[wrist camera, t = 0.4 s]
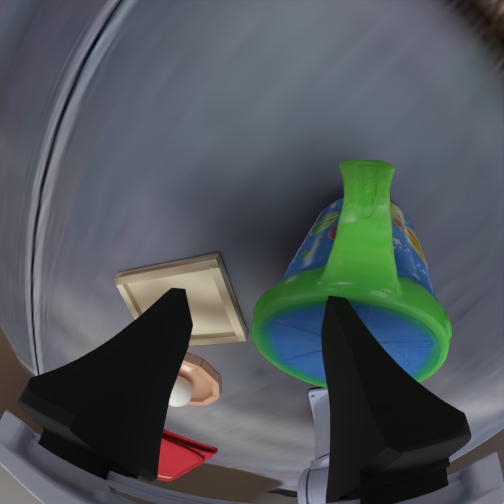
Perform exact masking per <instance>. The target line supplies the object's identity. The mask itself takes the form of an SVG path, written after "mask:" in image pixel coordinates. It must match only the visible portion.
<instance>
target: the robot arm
mask: <svg viewBox="0 0 504 504" xmlns="http://www.w3.org/2000/svg"><path fill="white" fill-rule="evenodd" d="M192 329H193V322H192V317H191V313H190V308H189V304H188V299H187V294H186V289H183V288H170V289H169V290H168V291H167V292H166V293H165V294H164V295H162V296H161V297H160V298H159V299H158V300H157V301H156V302H155V303H154V304H153V305H151V306H150V307H149V308H148V309H147V310H146V311H145V312H144V313H142V314H141V315H140V316H139V317H138V318H137V319H136V320H134V321H133V322H132V323H131V324H129V325H128V326H127V327H126V328H124V329H123V330H122V331H121V332H120V333H118V334H117V335H116V336H114V337H113V338H111V339H110V340H109V341H107V342H106V343H104V344H103V345H101V346H100V347H98V348H96V349H95V350H93V351H91V352H89V353H88V354H86V355H84V356H82V357H81V358H79V359H77V360H75V361H73V362H71V363H69V364H67V365H64V366H62V367H60V368H57V369H55V370H52V371H50V372H47V373H44V374H41V375H38V376H35V377H32V378H31V379H30V381H29V382H28V384H27V386H26V387H25V389H24V391H23V393H22V394H21V396H20V398H19V400H18V404H19V406H20V407H21V408H22V410H23V411H24V412H25V413H27V415H28V416H30V417H31V418H32V419H33V420H34V421H35V422H37V424H39V425H40V426H41V427H42V428H43V429H44V431H43V433H42V435H41V436H40V435H39V434H37V433H35V432H34V431H33V430H32V429H31V428H30V427H29V426H28V425H26V424H25V423H24V422H23V421H21V420H20V419H19V418H17V417H16V416H14V415H13V414H12V413H10V412H9V411H5V413H4V415H3V417H2V419H1V421H0V464H1V465H2V466H3V467H4V468H5V469H6V470H7V471H8V472H9V473H10V474H11V475H12V476H13V477H14V478H15V479H16V480H18V481H19V483H21V484H22V485H23V486H24V487H25V488H26V489H27V490H28V491H29V492H30V493H31V494H32V495H34V496H35V497H36V498H37V499H38V500H39V501H41V502H42V503H43V504H138V503H135V502H132V501H130V500H127V499H124V498H122V497H120V496H119V494H118V492H117V491H116V490H119V491H121V492H123V493H126V494H129V495H132V496H134V497H137V498H140V499H143V500H147V501H149V502H153V503H156V504H250V503H239V502H231V501H223V500H216V499H210V498H204V497H198V496H193V495H189V494H184V493H179V492H175V491H171V490H167V489H164V488H160V487H156V486H153V485H149V484H146V483H143V482H140V481H137V480H134V479H131V478H128V477H129V476H130V477H133V478H136V479H137V478H139V479H143V480H146V481H149V482H151V481H154V480H156V479H157V478H158V467H159V456H160V448H161V441H162V435H163V429H164V424H165V418H166V414H167V409H168V405H169V400H170V397H171V393H172V390H173V387H174V384H175V382H176V379H177V376H178V374H179V371H180V368H181V365H182V363H183V360H184V357H185V355H186V352H187V349H188V346H189V342H190V338H191V333H192ZM321 343H322V357H323V363H324V370H325V376H326V383H327V388H320V389H313V390H309V391H308V395H309V400H310V404H311V409H312V414H313V418H314V423H315V460H312V461H311V464H310V468H306V469H305V470H304V471H303V473H302V474H301V475H300V477H299V481H298V490H297V494H298V503H299V504H504V483H503V478H502V473H501V467H500V463H499V458H498V454H497V452H494V453H492V454H490V455H488V456H486V457H484V458H482V459H480V460H478V461H476V462H474V463H472V464H470V465H468V466H467V467H465V468H463V469H462V470H461V471H459V472H457V473H454V474H452V475H449V476H447V472H446V468H447V467H449V465H450V462H449V457H450V456H451V455H452V454H454V453H455V452H457V451H458V450H459V449H461V448H462V447H463V446H465V445H466V444H467V443H468V442H469V441H470V439H471V432H470V429H469V425H468V422H467V419H466V416H465V413H463V412H461V411H460V410H458V409H456V408H454V407H453V406H451V405H449V404H448V403H446V402H444V401H443V400H441V399H440V398H439V397H437V396H436V395H434V394H433V393H431V392H430V391H429V390H427V389H426V388H425V387H424V386H422V385H421V384H420V383H419V382H417V381H416V380H415V379H414V378H413V377H412V376H410V375H409V374H408V373H407V372H406V371H405V370H404V369H403V368H402V367H401V366H400V365H399V364H398V363H397V362H396V361H395V360H394V359H393V358H392V357H391V356H390V355H389V354H388V353H387V352H386V351H385V349H384V348H383V347H382V346H381V345H380V343H379V342H378V341H377V340H376V339H375V337H374V336H373V335H372V333H371V332H370V331H369V329H368V328H367V327H366V326H365V324H364V323H363V321H362V320H361V319H360V317H359V316H358V314H357V313H356V312H355V310H354V309H353V307H352V306H351V304H350V303H349V301H348V300H347V299H346V298H343V297H334V296H328V300H327V302H326V308H325V313H324V319H323V324H322V329H321ZM115 489H116V490H115ZM251 504H252V503H251Z"/></svg>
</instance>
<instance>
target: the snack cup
mask: <svg viewBox="0 0 504 504" xmlns="http://www.w3.org/2000/svg"><path fill="white" fill-rule="evenodd" d="M338 169H339V171H340V173H341V176H342V180H343V186H344V198H341V199H338V200H336V201H334V202H332V203H331V204H330V205H329V206H328V207H327V208H325V209H324V210H322V211H321V213H320V214H319V216H318V218H317V219H316V221H315V223H314V224H313V226H312V227H311V229H310V231H309V233H308V234H307V236H306V237H305V239H304V242H303V243H302V245H301V247H300V248H299V249H298V251H297V253H296V255H295V257H294V258H293V260H292V261H291V263H290V264H289V266H288V268H287V270H286V272H285V274H284V276H283V278H282V279H281V281H280V282H279V283H278V284H277V285H275V286H274V287H273V288H272V289H270V290H268V291H267V292H265V293H264V294H263V295H262V296H261V297H260V299H259V300H258V302H257V304H256V306H255V308H254V319H253V323H252V327H251V334H252V338H253V341H254V343H255V345H256V347H257V349H258V350H259V351H260V353H261V354H262V355H263V356H264V357H265V358H266V359H267V360H268V361H270V362H271V363H272V364H273V365H275V366H276V367H277V368H279V369H281V370H282V371H284V372H286V373H287V374H289V375H292V376H293V377H295V378H298V379H300V380H302V381H305V382H308V383H310V384H314V385H317V386H321V387H325V388H327V383H326V376H325V370H324V363H323V357H322V343H321V329H322V324H323V319H324V313H325V308H326V302H327V300H328V296H334V297H343V298H346V299H347V300H348V301H349V303H350V304H351V306H352V307H353V309H354V310H355V312H356V313H357V314H358V316H359V317H360V319H361V320H362V321H363V323H364V324H365V326H366V327H367V328H368V329H369V331H370V332H371V333H372V335H373V336H374V337H375V339H376V340H377V341H378V342H379V343H380V345H381V346H382V347H383V348H384V349H385V351H386V352H387V353H388V354H389V355H390V356H391V357H392V358H393V359H394V360H395V361H396V362H397V363H398V364H399V365H400V366H401V367H402V368H403V369H404V370H405V371H406V372H407V373H408V374H409V375H410V376H412V377H413V378H414V379H415V380H416V381H417V382H421V381H422V380H425V379H426V378H428V377H429V376H431V375H432V374H434V373H435V372H436V371H437V370H438V369H439V368H440V367H441V365H442V364H443V362H444V361H445V359H446V357H447V354H448V350H449V340H450V338H451V336H452V327H451V322H450V320H449V317H448V315H447V313H446V311H445V310H444V309H443V308H442V306H441V304H440V303H439V301H438V300H437V298H436V294H435V290H434V286H433V283H432V280H431V276H430V273H429V269H428V266H427V263H426V260H425V257H424V254H423V251H422V248H421V246H420V243H419V241H418V239H417V235H416V232H415V230H414V228H413V226H412V224H411V222H410V219H409V217H408V215H407V214H405V213H404V211H402V210H401V209H400V208H399V207H398V206H396V205H395V204H393V203H391V202H390V193H389V192H390V185H391V181H392V177H393V174H394V171H395V169H394V167H393V166H392V165H391V163H387V162H384V161H379V160H346V161H342V162H341V163H340V164H339V166H338Z"/></svg>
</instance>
